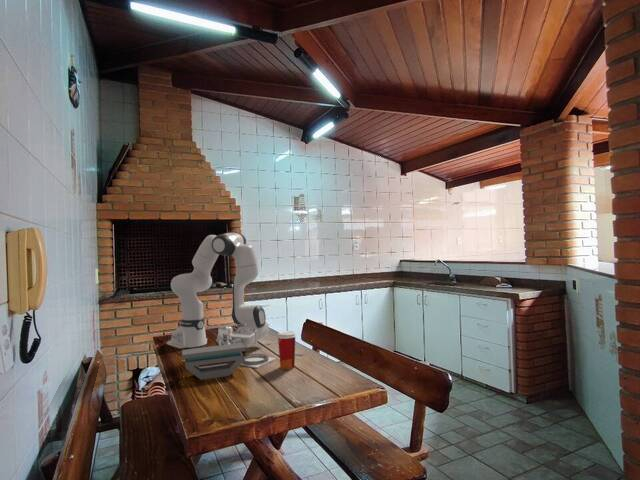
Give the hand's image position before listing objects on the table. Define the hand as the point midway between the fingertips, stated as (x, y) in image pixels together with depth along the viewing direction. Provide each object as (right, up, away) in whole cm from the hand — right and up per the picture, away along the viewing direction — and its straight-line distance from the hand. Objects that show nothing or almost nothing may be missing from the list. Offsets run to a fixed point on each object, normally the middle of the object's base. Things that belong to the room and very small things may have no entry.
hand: (224, 341), depth 179 cm
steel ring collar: (+15, -8, -4) cm, 18 cm away
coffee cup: (+31, -8, -13) cm, 34 cm away
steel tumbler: (+1, -9, +1) cm, 9 cm away
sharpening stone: (+1, -9, -20) cm, 22 cm away
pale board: (+15, -8, -4) cm, 18 cm away
